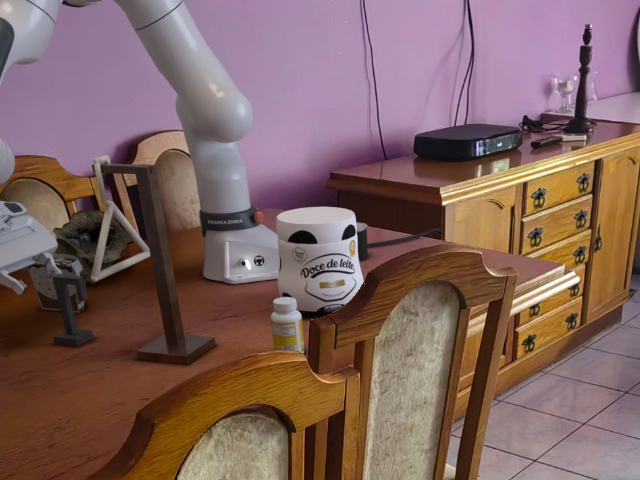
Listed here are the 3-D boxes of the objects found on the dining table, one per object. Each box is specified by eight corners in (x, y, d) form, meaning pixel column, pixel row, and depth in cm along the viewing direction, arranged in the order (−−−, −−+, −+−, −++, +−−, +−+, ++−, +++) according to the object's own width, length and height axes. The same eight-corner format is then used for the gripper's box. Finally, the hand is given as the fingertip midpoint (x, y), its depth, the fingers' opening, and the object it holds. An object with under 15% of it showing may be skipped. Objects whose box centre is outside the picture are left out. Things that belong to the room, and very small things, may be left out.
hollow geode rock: (122, 277, 209) (73, 231, 205) (151, 240, 204) (101, 193, 199) (70, 309, 186) (13, 258, 181) (101, 268, 180) (43, 215, 176)
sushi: (364, 262, 199) (362, 227, 195) (330, 261, 200) (328, 226, 196) (371, 253, 206) (370, 219, 201) (338, 252, 207) (336, 218, 202)
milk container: (332, 326, 161) (325, 229, 151) (262, 312, 169) (251, 219, 159) (381, 301, 173) (378, 210, 163) (314, 290, 181) (307, 202, 171)
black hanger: (54, 344, 156) (37, 278, 149) (71, 335, 160) (55, 270, 153) (87, 348, 154) (71, 281, 147) (104, 338, 158) (89, 273, 151)
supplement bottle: (289, 361, 146) (283, 307, 141) (268, 354, 149) (262, 301, 144) (311, 352, 150) (306, 299, 144) (290, 346, 153) (285, 293, 147)
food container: (103, 304, 176) (93, 255, 170) (85, 313, 171) (73, 263, 166) (55, 299, 179) (43, 251, 174) (35, 308, 175) (22, 259, 169)
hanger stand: (104, 364, 147) (58, 165, 129) (158, 332, 161) (123, 147, 143) (176, 372, 143) (139, 168, 125) (225, 338, 157) (198, 150, 139)
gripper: (-56, 226, 140) (8, 289, 143) (27, 201, 156) (83, 258, 159) (-68, 251, 144) (-6, 312, 146) (14, 224, 160) (69, 279, 163)
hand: (41, 284), depth 153 cm, fingers open, 8 cm apart
